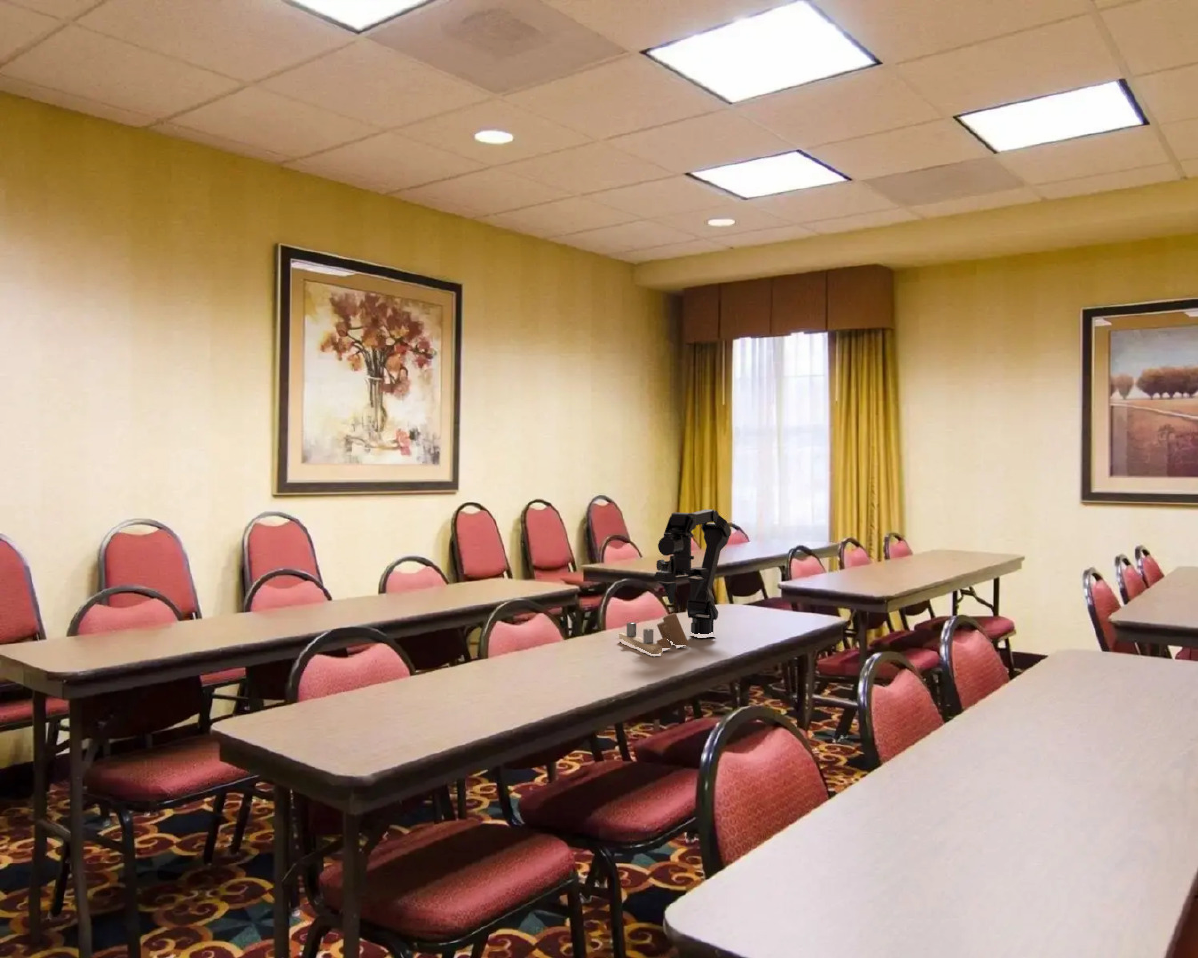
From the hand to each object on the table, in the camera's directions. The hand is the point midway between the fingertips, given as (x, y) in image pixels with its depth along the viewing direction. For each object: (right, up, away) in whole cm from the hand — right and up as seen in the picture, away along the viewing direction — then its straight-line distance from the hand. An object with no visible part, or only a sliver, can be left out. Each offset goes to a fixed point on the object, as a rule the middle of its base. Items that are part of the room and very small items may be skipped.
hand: (682, 602), depth 290 cm
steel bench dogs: (-14, -13, -9) cm, 21 cm away
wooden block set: (-4, -14, -4) cm, 15 cm away
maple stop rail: (-14, -13, -9) cm, 21 cm away
